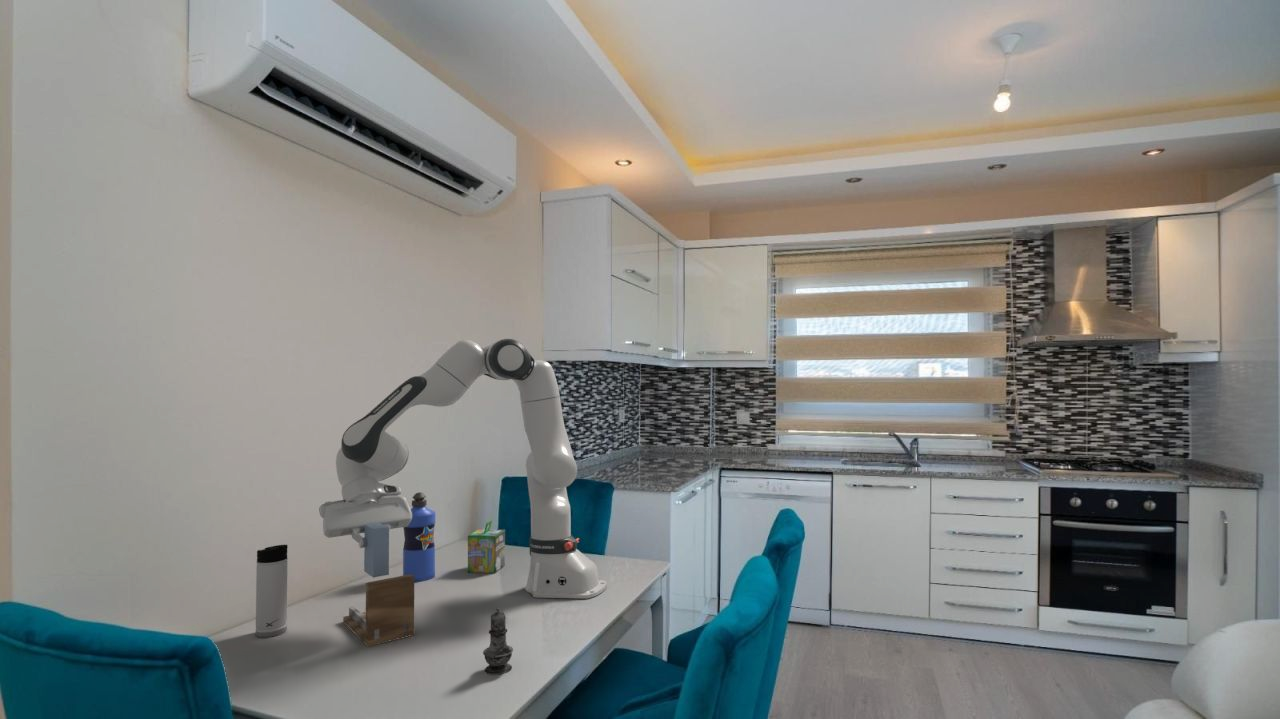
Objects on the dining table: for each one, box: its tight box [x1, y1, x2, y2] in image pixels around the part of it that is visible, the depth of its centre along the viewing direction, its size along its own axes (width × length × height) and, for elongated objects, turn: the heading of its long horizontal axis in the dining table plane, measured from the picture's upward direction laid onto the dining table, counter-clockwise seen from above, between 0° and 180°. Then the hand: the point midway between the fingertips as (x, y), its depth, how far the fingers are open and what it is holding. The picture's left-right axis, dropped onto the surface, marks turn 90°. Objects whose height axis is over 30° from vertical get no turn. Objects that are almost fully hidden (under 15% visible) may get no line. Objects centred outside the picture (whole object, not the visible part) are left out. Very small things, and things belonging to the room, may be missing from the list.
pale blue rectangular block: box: [363, 523, 390, 579], centre depth 152 cm, size 7×4×11 cm, turn 39°
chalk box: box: [467, 519, 506, 574], centre depth 200 cm, size 9×9×15 cm
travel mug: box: [255, 544, 289, 638], centre depth 149 cm, size 6×7×20 cm
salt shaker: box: [482, 607, 514, 676], centre depth 127 cm, size 6×6×12 cm
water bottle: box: [402, 492, 436, 583], centre depth 192 cm, size 9×9×25 cm
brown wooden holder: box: [342, 574, 415, 647], centre depth 150 cm, size 20×10×13 cm, turn 39°
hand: (374, 544), depth 153 cm, fingers closed on pale blue rectangular block, 3 cm apart
